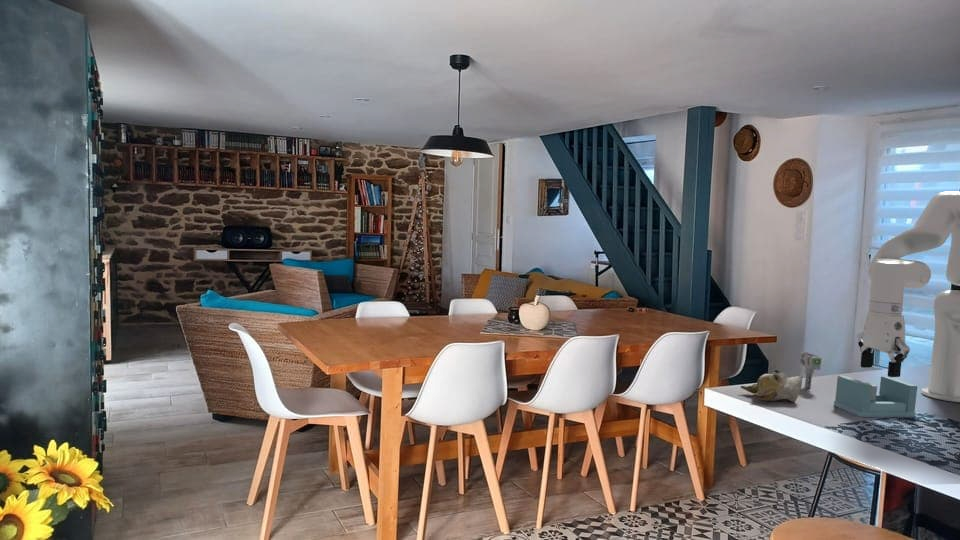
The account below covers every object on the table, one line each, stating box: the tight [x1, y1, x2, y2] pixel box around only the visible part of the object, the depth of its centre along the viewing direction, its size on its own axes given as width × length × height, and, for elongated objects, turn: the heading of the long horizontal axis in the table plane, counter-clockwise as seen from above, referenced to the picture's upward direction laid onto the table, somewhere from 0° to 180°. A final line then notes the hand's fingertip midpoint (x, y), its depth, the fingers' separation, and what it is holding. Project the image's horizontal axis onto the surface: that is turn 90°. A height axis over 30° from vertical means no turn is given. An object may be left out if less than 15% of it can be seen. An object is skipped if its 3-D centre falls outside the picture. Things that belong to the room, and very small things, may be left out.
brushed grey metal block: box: [866, 382, 878, 402], centre depth 178 cm, size 4×4×6 cm
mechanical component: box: [799, 351, 823, 389], centre depth 200 cm, size 3×10×10 cm, turn 174°
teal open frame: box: [833, 375, 918, 418], centre depth 178 cm, size 16×10×8 cm, turn 99°
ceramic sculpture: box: [739, 369, 803, 403], centre depth 184 cm, size 11×9×15 cm
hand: (879, 371), depth 178 cm, fingers open, 9 cm apart
